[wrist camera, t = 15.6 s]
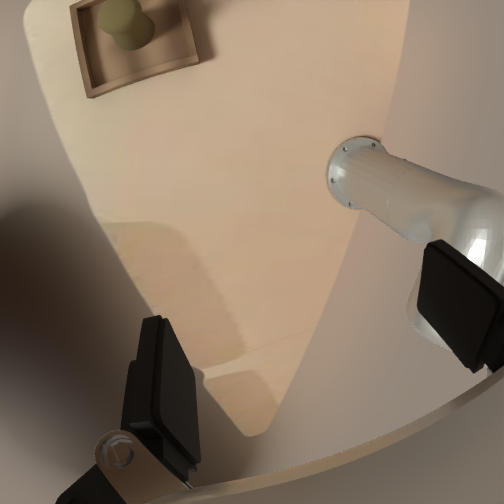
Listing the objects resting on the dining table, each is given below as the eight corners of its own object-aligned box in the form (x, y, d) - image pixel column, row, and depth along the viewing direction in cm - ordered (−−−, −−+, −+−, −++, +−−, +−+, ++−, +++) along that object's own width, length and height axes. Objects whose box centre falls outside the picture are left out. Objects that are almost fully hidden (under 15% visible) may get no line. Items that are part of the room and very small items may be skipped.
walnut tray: (177, -25, 29) (177, -32, 26) (198, 64, 36) (198, 61, 34) (75, 10, 28) (69, 6, 25) (93, 98, 35) (87, 98, 33)
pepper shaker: (162, 19, 31) (153, -6, 22) (143, 55, 34) (128, 39, 24) (125, 10, 29) (106, -15, 20) (107, 45, 32) (81, 29, 22)
